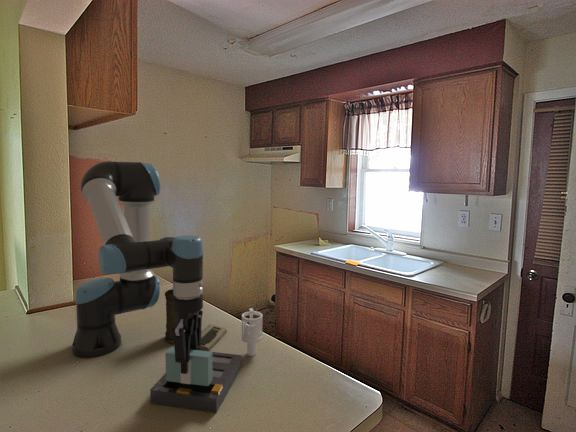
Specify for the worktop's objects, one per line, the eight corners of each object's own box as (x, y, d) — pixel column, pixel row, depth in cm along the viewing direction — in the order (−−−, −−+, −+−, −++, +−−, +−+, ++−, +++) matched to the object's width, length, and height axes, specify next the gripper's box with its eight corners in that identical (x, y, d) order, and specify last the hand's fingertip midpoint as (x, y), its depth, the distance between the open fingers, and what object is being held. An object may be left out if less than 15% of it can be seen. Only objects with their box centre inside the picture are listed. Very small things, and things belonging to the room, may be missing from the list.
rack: (150, 403, 93) (150, 387, 93) (187, 360, 115) (187, 347, 114) (216, 413, 90) (216, 396, 90) (241, 367, 112) (242, 353, 111)
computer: (208, 353, 121) (208, 344, 120) (187, 350, 122) (187, 341, 122) (227, 333, 136) (227, 325, 135) (207, 331, 138) (207, 323, 137)
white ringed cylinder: (260, 347, 125) (261, 307, 123) (263, 357, 118) (264, 315, 116) (240, 349, 123) (241, 308, 121) (242, 359, 116) (242, 316, 114)
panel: (166, 380, 94) (165, 352, 93) (171, 374, 97) (170, 347, 96) (208, 386, 92) (208, 357, 91) (212, 379, 95) (212, 351, 94)
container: (176, 346, 124) (175, 297, 122) (159, 339, 129) (158, 292, 127) (195, 336, 132) (194, 290, 130) (178, 330, 136) (178, 286, 134)
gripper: (187, 307, 83) (188, 399, 86) (213, 286, 99) (213, 364, 102) (158, 304, 84) (160, 395, 87) (188, 284, 100) (189, 362, 103)
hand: (189, 378), depth 94 cm, fingers closed on panel, 3 cm apart
